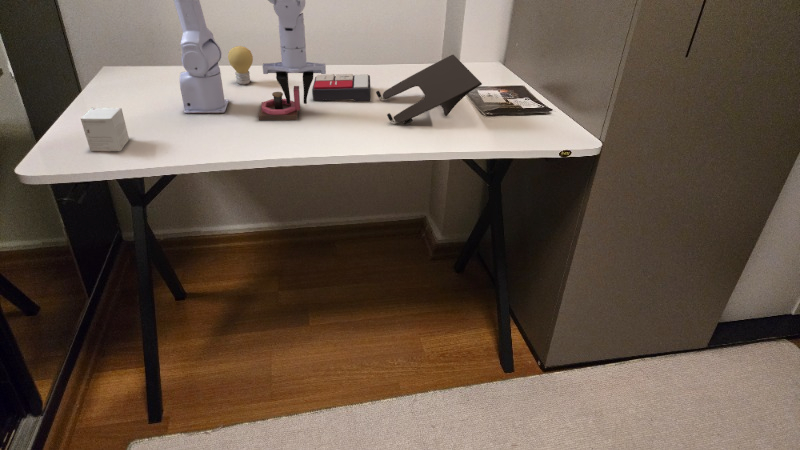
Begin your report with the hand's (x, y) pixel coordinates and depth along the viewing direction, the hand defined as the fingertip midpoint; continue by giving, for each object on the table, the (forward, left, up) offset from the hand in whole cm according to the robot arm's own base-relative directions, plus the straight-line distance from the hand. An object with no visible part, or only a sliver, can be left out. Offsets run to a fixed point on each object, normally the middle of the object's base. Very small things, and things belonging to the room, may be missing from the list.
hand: (297, 102), depth 128 cm
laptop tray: (+32, +1, -3) cm, 32 cm away
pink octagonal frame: (-4, 0, -2) cm, 5 cm away
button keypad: (+12, +13, -3) cm, 18 cm away
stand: (-4, 0, -3) cm, 5 cm away
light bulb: (-15, +22, -3) cm, 27 cm away
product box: (-38, -17, -3) cm, 42 cm away
